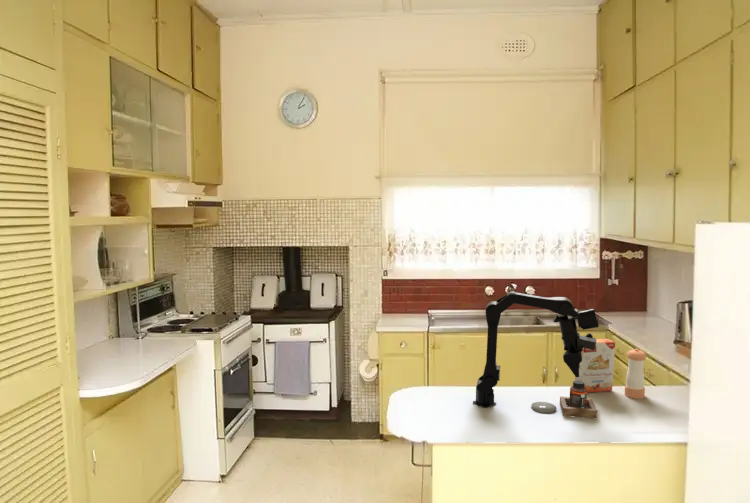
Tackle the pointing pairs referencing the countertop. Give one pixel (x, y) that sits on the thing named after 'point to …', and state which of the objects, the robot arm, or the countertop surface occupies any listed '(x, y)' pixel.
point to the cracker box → (598, 366)
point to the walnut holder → (578, 409)
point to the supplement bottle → (578, 395)
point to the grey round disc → (543, 407)
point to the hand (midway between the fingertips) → (577, 372)
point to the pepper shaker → (635, 374)
